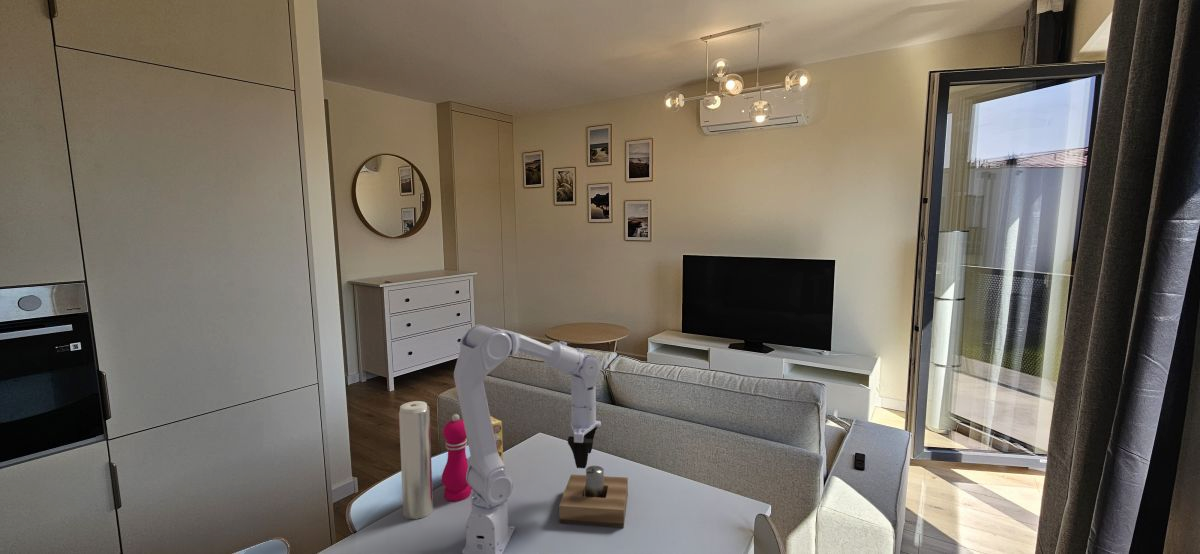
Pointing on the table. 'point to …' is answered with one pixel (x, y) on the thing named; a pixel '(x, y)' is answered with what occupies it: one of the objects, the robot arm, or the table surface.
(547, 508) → the table surface
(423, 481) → the silver cream cylinder
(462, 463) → the pepper mill
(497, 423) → the candy box
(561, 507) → the bore block
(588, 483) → the pin
